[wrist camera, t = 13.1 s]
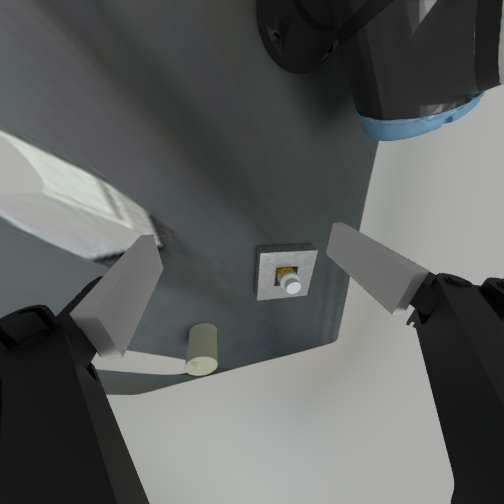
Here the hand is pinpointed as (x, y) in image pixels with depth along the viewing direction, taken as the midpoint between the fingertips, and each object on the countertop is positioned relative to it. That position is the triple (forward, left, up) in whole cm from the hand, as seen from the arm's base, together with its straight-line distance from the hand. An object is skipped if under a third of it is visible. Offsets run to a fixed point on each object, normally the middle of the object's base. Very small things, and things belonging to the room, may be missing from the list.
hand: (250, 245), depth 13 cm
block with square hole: (+24, +16, -31) cm, 42 cm away
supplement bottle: (+24, +16, -31) cm, 42 cm away
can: (+48, -9, -31) cm, 58 cm away
